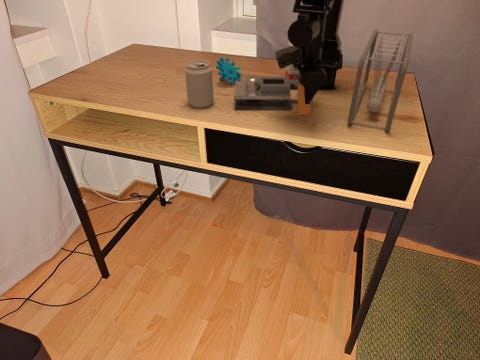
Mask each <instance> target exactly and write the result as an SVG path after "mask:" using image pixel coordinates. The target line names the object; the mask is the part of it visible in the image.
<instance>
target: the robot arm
mask: <svg viewBox="0 0 480 360" xmlns="http://www.w3.org/2000/svg"><path fill="white" fill-rule="evenodd" d="M294 1H295V2H294V5H293V9H292V13H296V14H297V17H296V18H297V19H295V21H293V22H292V23H291V24H290V26H289V27H288V29H287V32H286V33H287V40H288V41H289V42H290V43H291V44H292V45H293V46H290V47H288V46H287V47H284V48H281V49H279V50H276V51H275V52H274V54H275V58H276V62H277V65H278V68H279V69H286V66H289V65H292V64H294V66H295V67H296V68H297V69H298V70H299V79H298V80H299V83H300V84H301V85H302V86H303V87H304V98H305V104H310V105H311V102H312V101H313V99H314V98H315V96H316V94H317V93H318V92H319V90H336V86H335V85H336V75H337V72H338V71H340V70H342V69H343V64H344V55H343V50H342V42H341V38H340V35H339V29H340V23H341V18H342V13H343V8H344V3H345V0H294Z"/></svg>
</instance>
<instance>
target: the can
mask: <svg viewBox="0 0 480 360" xmlns="http://www.w3.org/2000/svg"><path fill="white" fill-rule="evenodd" d="M184 75H185V84H186V95H187V96H186V97H187V102H188V104H189V105H190V106H191V107H192V108H195V109H205V108H208V107H210V106H211V105H212V104H213V103H214V98H215V97H214V83H213V82H214V81H213V80H214V79H213V77H214V76H213V68H212V66H211V65H210V62H209V61H208V60H204V59H195V60H191V61H188V62H187V63H186V67H185V68H184Z"/></svg>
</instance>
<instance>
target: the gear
mask: <svg viewBox="0 0 480 360" xmlns="http://www.w3.org/2000/svg"><path fill="white" fill-rule="evenodd" d="M229 62H230V58H229V57H226V58H225V57H223V56H221V57H220V58H219V59H217V61H216V66H215V69H216V70H219V71H218V72H217V73H218V76H220V77H219V81H221V82H222V81H224V82H227V81H228V79H229V81H228V84H229V85H231V86H232V85H234V86H235V85H236V81H243V80H242V75H243V74H242V73H241V72H239V71H240V69H241V68H242V67H241V65H237V66H236V67H235V65H236V63H235V61H234V60H232V61H231V62H230V63H229Z"/></svg>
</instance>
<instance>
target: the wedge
mask: <svg viewBox="0 0 480 360" xmlns="http://www.w3.org/2000/svg"><path fill="white" fill-rule="evenodd" d="M296 91H297V93H296V96H297V99H298V100H297V111H296V114H297V116H310V109H311V103H310V104H305V98H304V87H303V86H302V85H301V84H300V83H299V81H298V90H296Z"/></svg>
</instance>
